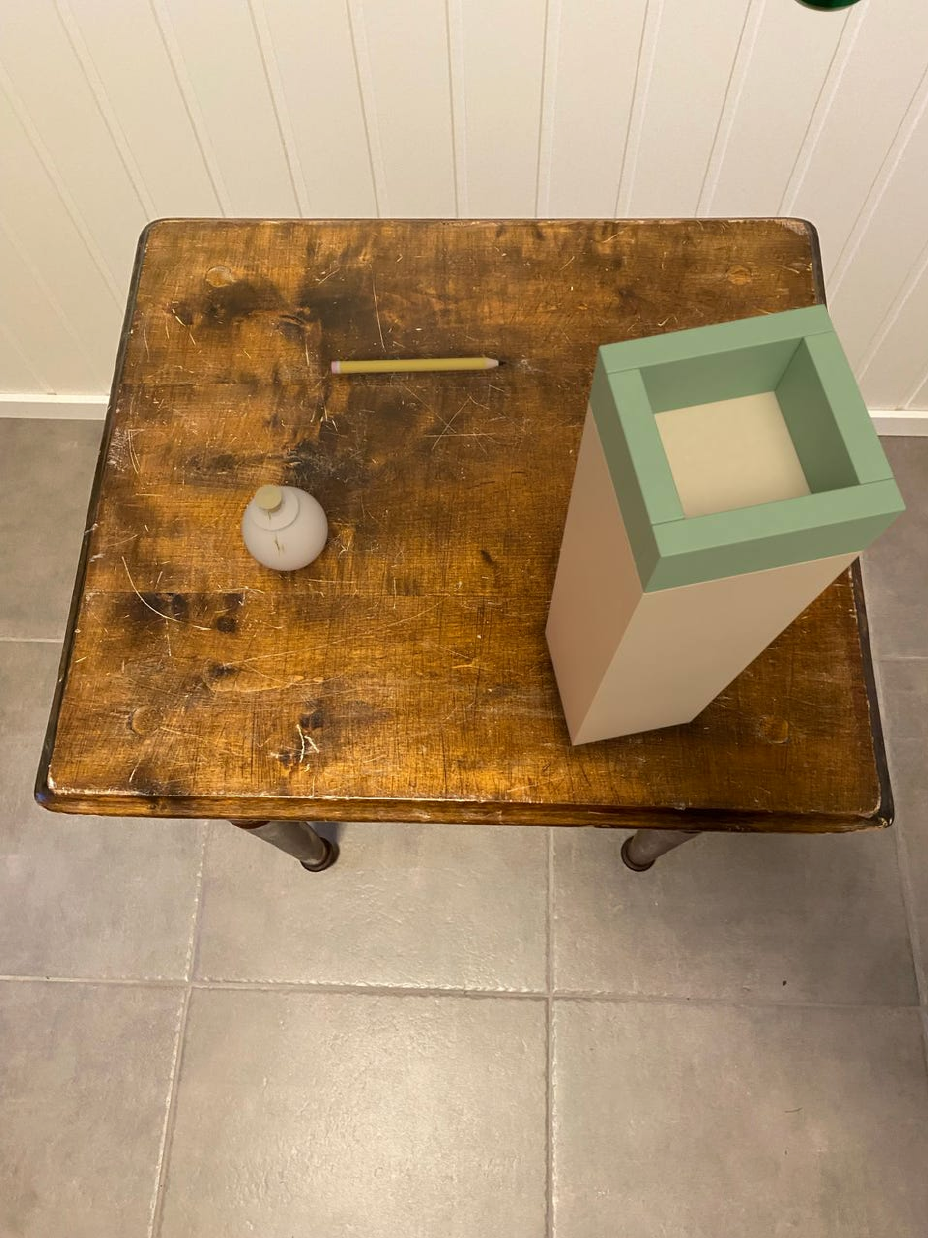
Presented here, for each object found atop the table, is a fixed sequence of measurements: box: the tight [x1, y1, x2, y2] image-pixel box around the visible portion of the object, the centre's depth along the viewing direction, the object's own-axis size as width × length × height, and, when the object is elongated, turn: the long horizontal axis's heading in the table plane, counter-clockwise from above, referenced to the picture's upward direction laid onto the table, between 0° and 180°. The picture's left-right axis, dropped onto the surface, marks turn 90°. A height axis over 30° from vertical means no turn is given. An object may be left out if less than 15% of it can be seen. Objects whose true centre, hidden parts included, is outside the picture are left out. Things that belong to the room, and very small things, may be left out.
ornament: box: [241, 484, 329, 572], centre depth 61 cm, size 6×7×10 cm
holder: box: [544, 303, 907, 747], centre depth 46 cm, size 8×8×34 cm
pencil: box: [330, 357, 507, 375], centre depth 70 cm, size 1×14×1 cm, turn 91°
